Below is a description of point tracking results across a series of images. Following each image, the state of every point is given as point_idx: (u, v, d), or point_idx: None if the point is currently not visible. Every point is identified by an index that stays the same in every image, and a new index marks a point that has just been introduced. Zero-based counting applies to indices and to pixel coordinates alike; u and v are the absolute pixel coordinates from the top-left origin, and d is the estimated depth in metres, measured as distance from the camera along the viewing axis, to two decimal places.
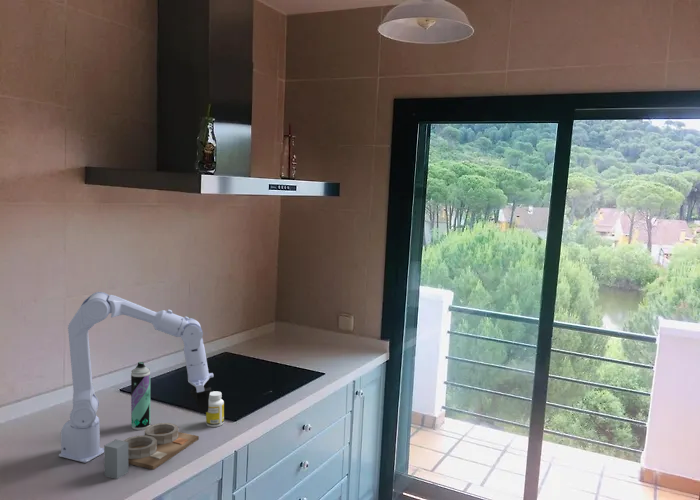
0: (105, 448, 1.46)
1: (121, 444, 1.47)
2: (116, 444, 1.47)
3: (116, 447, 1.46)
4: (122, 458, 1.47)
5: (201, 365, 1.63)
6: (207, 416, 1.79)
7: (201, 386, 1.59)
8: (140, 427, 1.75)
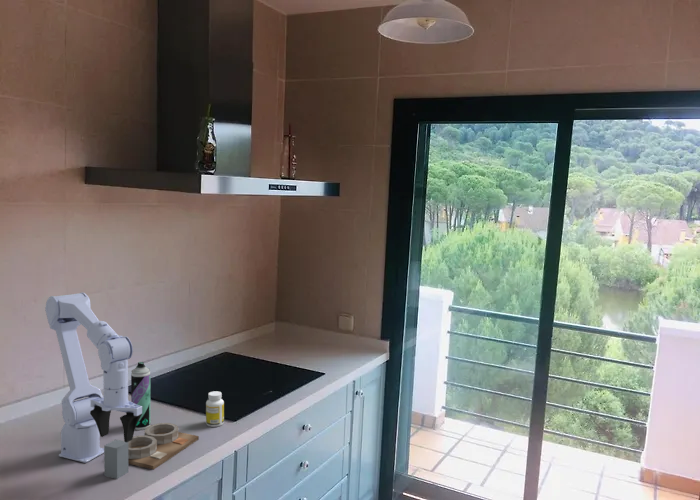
0: (105, 448, 1.46)
1: (121, 444, 1.47)
2: (116, 444, 1.47)
3: (116, 447, 1.46)
4: (122, 458, 1.47)
5: None
6: (207, 416, 1.79)
7: None
8: (140, 427, 1.75)
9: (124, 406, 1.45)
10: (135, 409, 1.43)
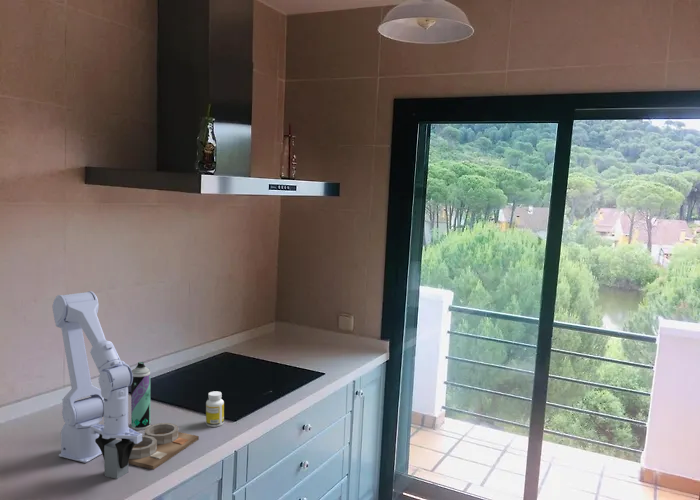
0: (105, 448, 1.46)
1: None
2: None
3: None
4: None
5: None
6: (207, 416, 1.79)
7: None
8: (140, 427, 1.75)
9: (124, 433, 1.46)
10: (135, 437, 1.44)
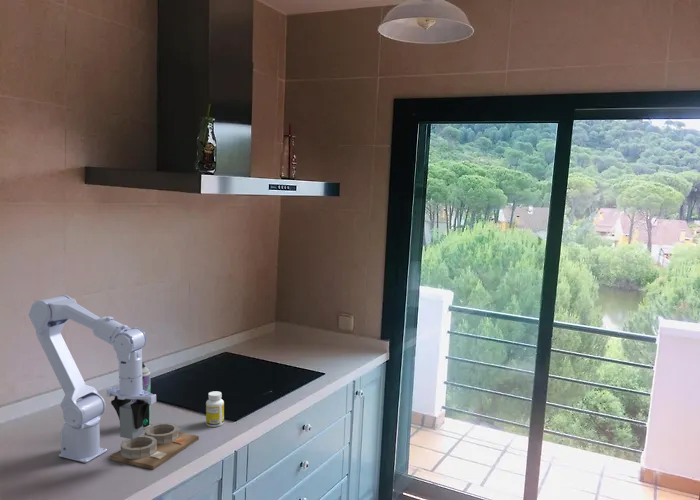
0: (120, 409, 1.51)
1: None
2: None
3: None
4: None
5: None
6: (207, 416, 1.79)
7: None
8: None
9: (139, 395, 1.50)
10: (149, 397, 1.49)
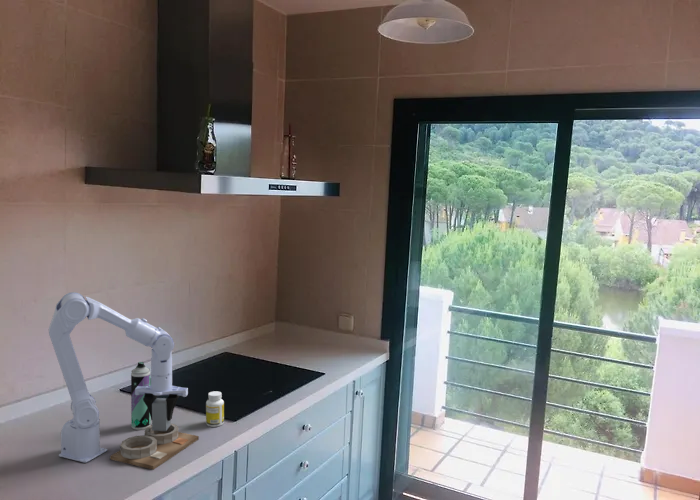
0: (153, 405, 1.65)
1: None
2: (162, 401, 1.66)
3: (164, 403, 1.65)
4: None
5: (151, 376, 1.65)
6: (207, 416, 1.79)
7: None
8: (140, 427, 1.75)
9: (171, 390, 1.66)
10: (184, 391, 1.65)
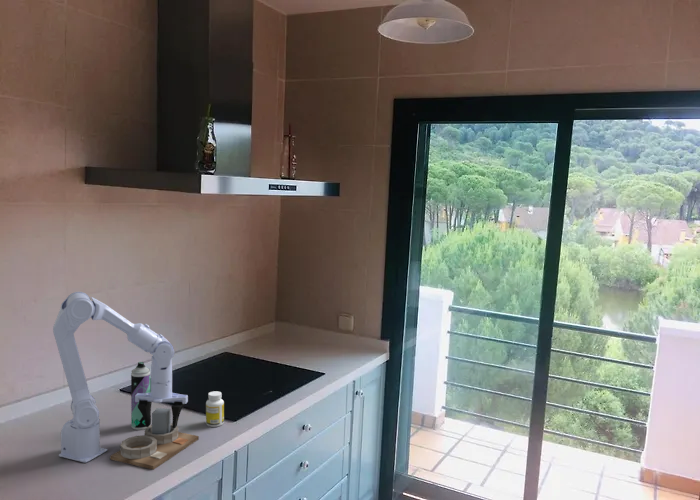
0: (153, 415, 1.65)
1: (166, 410, 1.67)
2: (162, 411, 1.67)
3: (164, 413, 1.65)
4: (168, 423, 1.67)
5: (151, 383, 1.65)
6: (207, 416, 1.79)
7: None
8: (140, 427, 1.75)
9: (171, 397, 1.66)
10: (184, 398, 1.66)
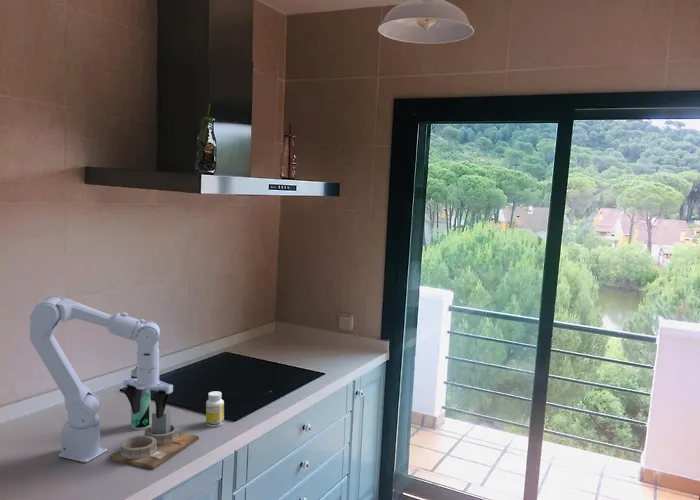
0: (153, 415, 1.65)
1: (166, 410, 1.67)
2: None
3: (164, 413, 1.65)
4: (168, 423, 1.67)
5: None
6: (207, 416, 1.79)
7: None
8: (140, 427, 1.75)
9: (156, 385, 1.58)
10: (167, 387, 1.57)
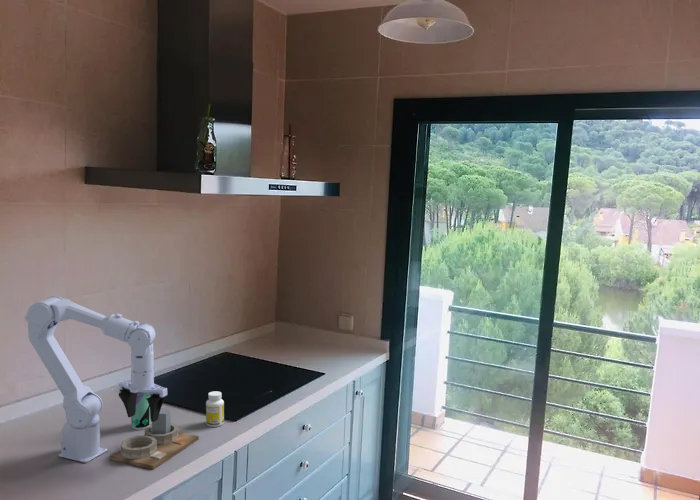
0: None
1: (166, 410, 1.67)
2: (162, 411, 1.67)
3: (164, 413, 1.65)
4: (168, 423, 1.67)
5: None
6: (207, 416, 1.79)
7: None
8: (140, 427, 1.75)
9: (150, 388, 1.55)
10: (161, 391, 1.54)
